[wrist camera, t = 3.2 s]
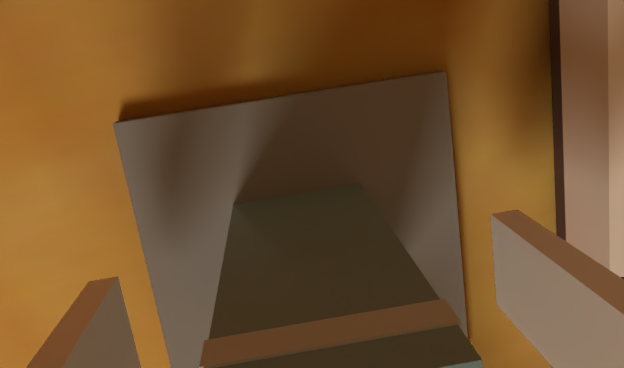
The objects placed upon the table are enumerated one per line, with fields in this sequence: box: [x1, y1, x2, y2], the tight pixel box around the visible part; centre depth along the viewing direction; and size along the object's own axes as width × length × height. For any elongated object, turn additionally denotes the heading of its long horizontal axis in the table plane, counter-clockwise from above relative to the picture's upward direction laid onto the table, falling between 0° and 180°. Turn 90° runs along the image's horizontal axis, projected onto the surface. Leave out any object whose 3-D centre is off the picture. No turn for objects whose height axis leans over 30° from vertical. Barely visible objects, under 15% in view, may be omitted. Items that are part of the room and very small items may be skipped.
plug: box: [199, 183, 483, 368], centre depth 13 cm, size 4×4×10 cm
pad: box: [113, 71, 468, 368], centre depth 18 cm, size 10×10×1 cm
